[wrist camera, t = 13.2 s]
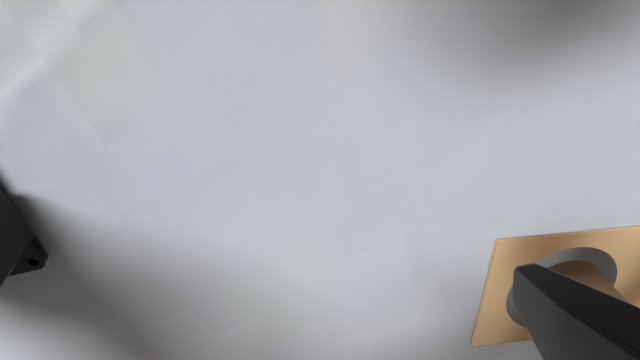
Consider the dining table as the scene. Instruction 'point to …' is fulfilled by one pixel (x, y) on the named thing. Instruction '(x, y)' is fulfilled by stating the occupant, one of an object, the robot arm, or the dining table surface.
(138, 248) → the dining table surface
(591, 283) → the pepper mill
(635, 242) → the board
